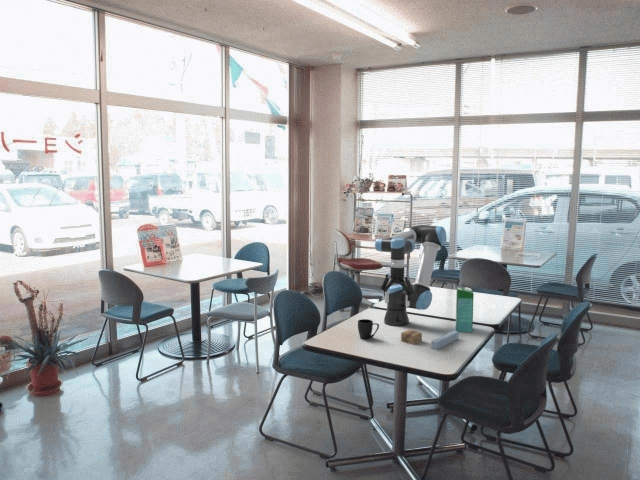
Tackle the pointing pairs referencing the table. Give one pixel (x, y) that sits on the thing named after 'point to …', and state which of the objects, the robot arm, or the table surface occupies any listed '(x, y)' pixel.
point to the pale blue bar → (444, 340)
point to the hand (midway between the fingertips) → (397, 304)
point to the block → (411, 336)
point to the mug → (366, 328)
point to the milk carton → (464, 309)
